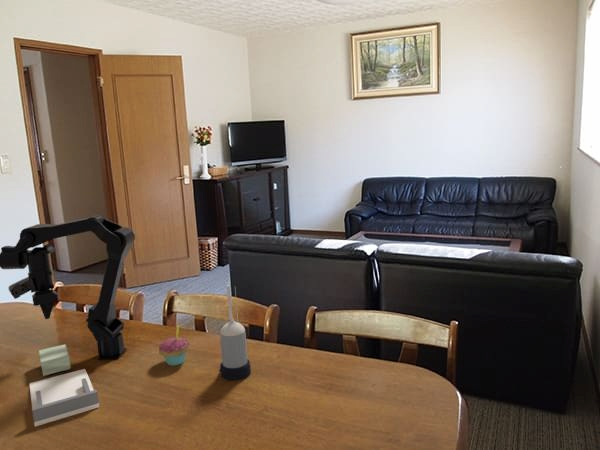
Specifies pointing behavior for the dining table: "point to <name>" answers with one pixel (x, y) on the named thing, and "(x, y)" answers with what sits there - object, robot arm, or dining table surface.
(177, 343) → the cupcake
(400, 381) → the dining table surface
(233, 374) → the humidifier
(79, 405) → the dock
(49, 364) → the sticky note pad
